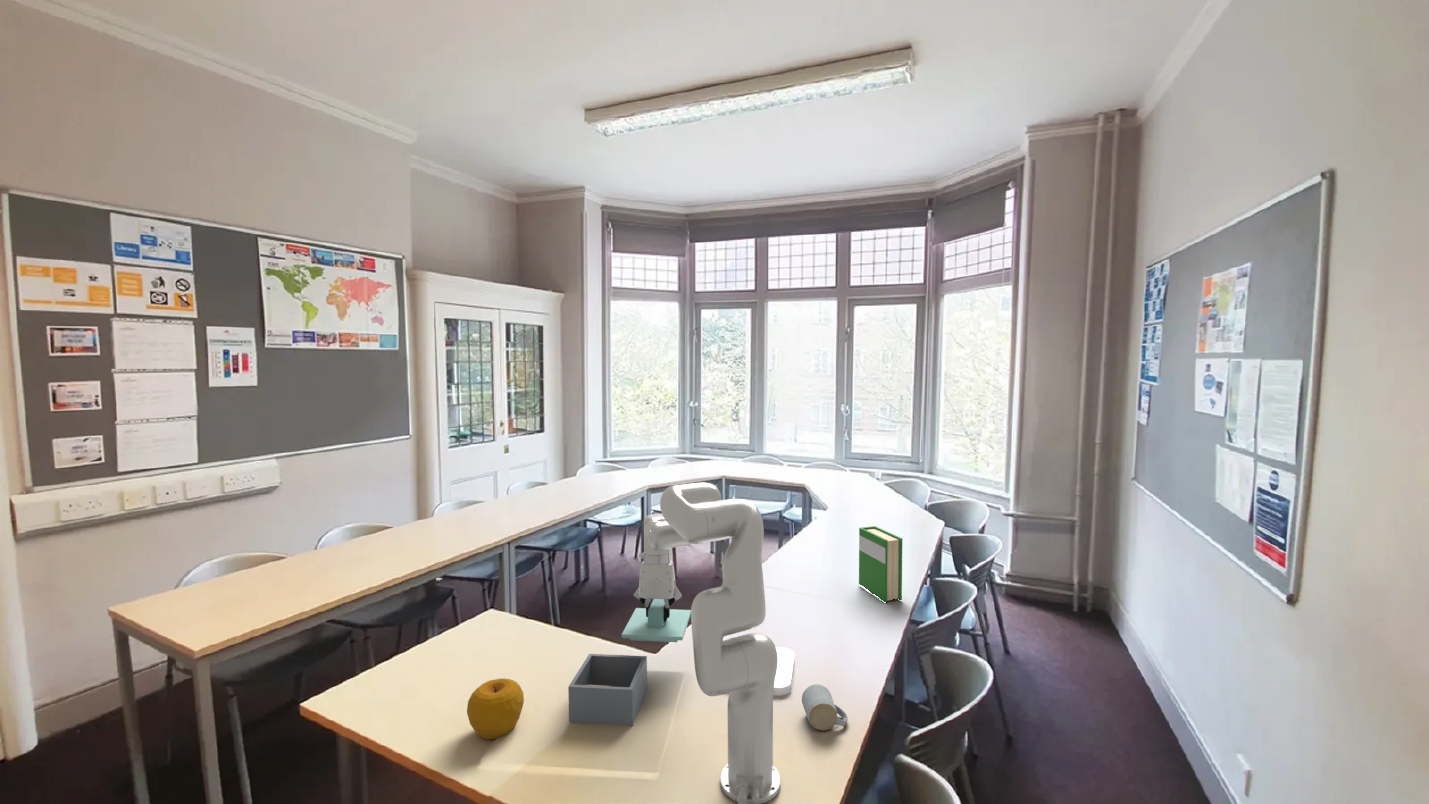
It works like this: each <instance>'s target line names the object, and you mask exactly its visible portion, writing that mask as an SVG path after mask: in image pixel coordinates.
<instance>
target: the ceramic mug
mask: <svg viewBox="0 0 1429 804" xmlns="http://www.w3.org/2000/svg"><path fill="white" fill-rule="evenodd" d="M801 703H802V706H803V709H804V711H805V712H804V713H805V715H806V718H807V720H808V722H809V724H810V725H811V727H813V729H816V730H818V731H828V730H830V729H831V728H833V727H834V725H836V726H840V727H844V726H846V724H847V722H848V721H849V720H848V719H849V718H848V715H847V713H846V712H845V711H844V710H843V709H842V708H841V707H840V706H838V705H837V704H836V703H835V702H834V699H833V697H832V693H831V692H830V690H829V689H828V688H827V687H826V686H824V685H822V684H817V683H816V684H812V685H809V686H808V687H807V688H806V689H804V691H803V692H802V695H801ZM838 716H839V717H840V718H842V719H840V718H838Z"/></svg>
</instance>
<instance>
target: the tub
mask: <svg viewBox="0 0 1429 804" xmlns="http://www.w3.org/2000/svg"><path fill="white" fill-rule="evenodd" d="M647 657H648V656H647V655H628V654H626V655H625V654H624V655H623V654H602V653H589V654H588V655H587V656H586V658H585V660H584V661H583V663H582V665H581V666H580V668H579V669H578V671H577V672H576V674H575V675H574V677H573V679H572V681H571V682H570V683H569V685H568V690H567V691H568V722H569V723H572V724H573V723H574V724H588V725H589V724H591V725H606V726H607V725H608V726H609V725H610V726H624V727H626V726H627V727H629V726H630V727H634V724H635V721H636V719H637V717H638V714H639V711H640V709H641V706H642V704H643V700H644V698H645V695H646V692H647V690H648V662H647V661H648V658H647ZM591 685H604V686H591Z"/></svg>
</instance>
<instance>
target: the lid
mask: <svg viewBox="0 0 1429 804" xmlns="http://www.w3.org/2000/svg"><path fill="white" fill-rule="evenodd" d="M651 603H652V604H651V606H650V608H649V610H648V617H646V607H643V608H642V607H635V609H634V611H633V612H632V614H631V617H630V618H629V620H628V622H627V624H626V626H625V628H624V629H623V631H622V633H621V638H622V639H629V641H637V642H638V641H640V642H644V641H645V642H664V643H665V642H666V643H678V641H683V640H684V637H685V634H686V630H687V627H688V625H689V624H688V623H689V621H690V619H691V609H676V608H675V609H673V608H672V609H671V608H670V617H669V618H667V621H666V622H664V607H665V603H664V599H652V601H651Z"/></svg>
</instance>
